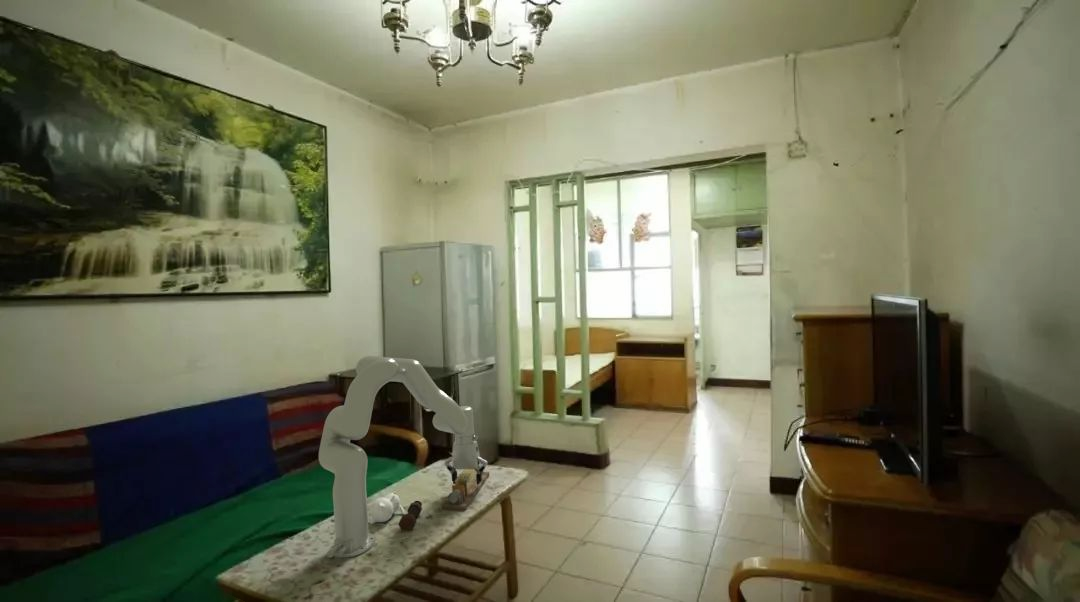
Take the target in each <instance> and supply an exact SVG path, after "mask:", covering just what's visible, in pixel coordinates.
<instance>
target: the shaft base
mask: <svg viewBox="0 0 1080 602" xmlns="http://www.w3.org/2000/svg"><path fill="white" fill-rule="evenodd" d="M479 466H480V467H482V466H483V464H482V463H480V464H479ZM481 474H482V481H481V482H480V483H479V485H477V482H476V484H475V485H474V486H473V488H472V489H471V491H470V492H469V493H468V495H465V487H464V485H455V484H453V485H452V486H451V492H450V493H449V495H447V498H446V499H445V501H444V502H443V503H442V504H441V510H443V509H447V510H448V511H451V510H452V511H467V509H468V508H469V506H470V505H471V504H472V502H473V500H474V499H475V497H476V496H477V494H478V493H479V491H480V490H481V489H482V487H483V485H484V484H485V482H486V481H487V480H488V478H489V477H490V472H489V471H484V470H483V471H482V472H481ZM486 479H487V480H486Z"/></svg>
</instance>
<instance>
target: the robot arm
mask: <svg viewBox="0 0 1080 602" xmlns="http://www.w3.org/2000/svg"><path fill="white" fill-rule="evenodd" d="M423 366H424V365H422V364H421V363H420V361H418V360H416V359H413V358H405V357H404V358H400V357H387V356H375V355H367V356H364V357H362V358H360V359H359V360H358V362H357V364H356V366H355V373H356V376H355V377H354V379H353V380H352V382H350V384H349V387H348V389H347V392H346V396H345V400H344V403H343V405H339V406H336V407H334V408H333V409H332V410H331V411H330V412H329V413H328V415H327V417H326V419H325V422H324V425H323V430H322V436H321V439H320V445H319V449H318V461H319V464H320V466H321V467H322V468H323V469H324V470H327V471H329V472H331V473H332V474H334V481H333V486H332V501H333V502H332V503H333V518H334V519H333V520H334V535H335V536H334V537H335V539H334V540H333V541H334V542H333V543H332V544H331V545H330V548H329V550H328V551H327V553H326V555H327V557H328V558H333V557H335V558H340V559H342V558H343V559H345V558H351V557H355V556H359V555H360V554H364V553H365V552H366V551H368V550H369V549H371V547H373V545H374V544H375V535H373V533H371V532H370V529H369V515H368V513H369V512H368V496H367V470H368V456H367V453H366V452H365V450H364V449H363V448H362V447H361V446H358V445H356V444H354V443H351V440H352V441H357V440H361V439H363V438H364V437H365V436H366V435H367V433H368V432H369V428H370V425H371V419H372V413H373V407H374V403H375V399H376V396H377V394H378V392H379V390H380V389H381V388H382V387H383V386H384V385H386V384H387V383H390V382H397V383H402V384H403V385H404V386H405V388H406V389H407V390H408V391H409V393H410V394H411V395H412V396H413V397H414V399H415V400H416V402H417V403H418V404H419V405H421V406H423V407H424V408H426V409H428V410H430V411H432V412H434V413H435V414H434V415H433V418H432V425H433V427H434V428H435V429H436V430H438V431H441V432H445V433H450V434H454V442H453V444H452V454H451V455H452V456H451V457H450V458H448V459H446V460H445V461H444V462H443V463H444V465H445V467H446V469H447V470H448V471H449V473H450V475H451V481H452V484H453V485H455V480H456V478H457V477H458V471H457V470H464V469H474V470H475V471H476V472H477V474H476V481H477V485H479V483H480V482H481V481H482V474H481V472H482V471H483V472H484V471H485V469H486V468H487V465H488V461H487V460H486V459H484V458H482V457H481V456H480V451H479V446H478V441H477V440H478V439H479V436H478V435H476V434H475V425H474V410H473V408H472V407H471V406H470V405H468V406H467V405H461V406H459V404H458V403H457V402H456V401H455V400H454V399H452V398H451V397H450V396H449V395H447V393H445V392H444V391H443V390H441V389H440V388H439V387H438V386H437V385H436V383H435V382H434V380H433V379H432V377H431V376H430V375H429V373H428V372H427V370H426V369H425V368H424V367H423ZM480 463H481V465H483V466H482V467H480V466H479V464H480ZM451 464H452V465H451Z"/></svg>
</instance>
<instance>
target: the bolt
mask: <svg viewBox="0 0 1080 602" xmlns="http://www.w3.org/2000/svg"><path fill="white" fill-rule="evenodd" d="M422 510H423V502H421V501H419V500H414V502H411V503H410V504H409V506H408V509H407V510H406V511H407V513H405V514H403V513H402V516H401V517H400V520H399V521H398V524H397V525H398V526H399V528H400V530H401V531H402V532H411V531H413V530H414V527H415V525H416V523H417V522H418V521H417V519H416V518H417V517H419V516H420V514H421V511H422Z"/></svg>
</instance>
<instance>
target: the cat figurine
mask: <svg viewBox="0 0 1080 602" xmlns="http://www.w3.org/2000/svg"><path fill="white" fill-rule="evenodd" d="M398 510H400V511H401V513H402V515H403V514H406V512H405V509H404V507H403V506H402V505H401V499H400V497H399V496H398V495H397V494H395V493H393V491H390V492H389V493H388V494H386V495H384V496H383V497H378V498H377V499H375V500H374V501H373V502H372V504H371V506H370V510H369V513H370V517H371V518H370V521H369V524H375V523H385V522H387V521H388V520H390V519H391V518H392V516H393V514H395V513H396V512H397V511H398Z"/></svg>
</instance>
